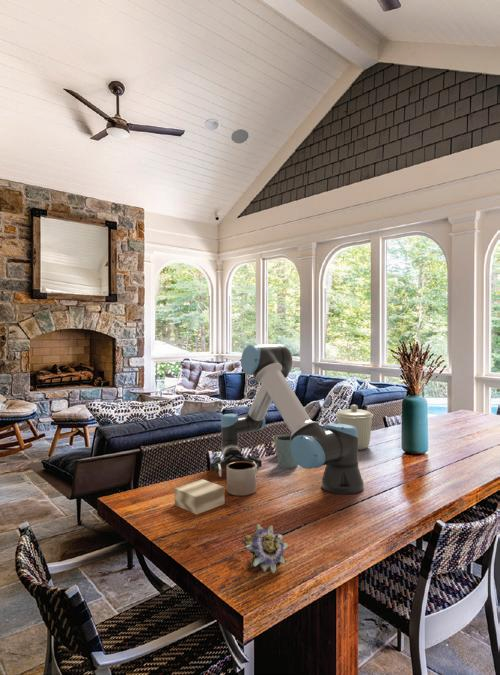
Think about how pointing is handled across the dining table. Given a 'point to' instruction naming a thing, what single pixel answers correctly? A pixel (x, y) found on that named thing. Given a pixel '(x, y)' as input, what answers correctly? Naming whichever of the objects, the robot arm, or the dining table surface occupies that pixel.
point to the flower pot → (275, 443)
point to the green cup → (285, 452)
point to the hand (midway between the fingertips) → (238, 471)
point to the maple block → (199, 496)
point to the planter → (241, 478)
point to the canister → (357, 423)
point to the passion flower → (266, 548)
